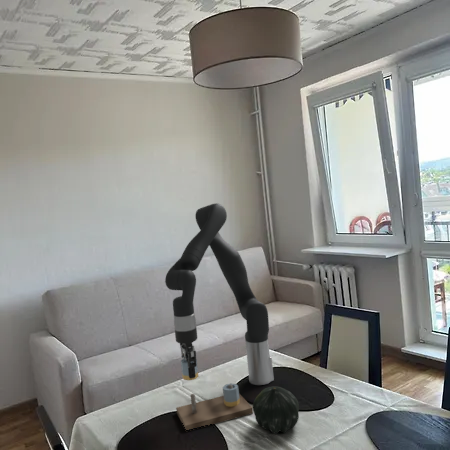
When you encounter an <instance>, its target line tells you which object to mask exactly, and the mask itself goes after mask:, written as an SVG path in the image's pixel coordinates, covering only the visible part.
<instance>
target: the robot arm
mask: <svg viewBox="0 0 450 450" xmlns="http://www.w3.org/2000/svg"><path fill="white" fill-rule="evenodd" d="M194 216H195V221H196V223H197V226H198V228H199V232H197V233H196V235H194V237H193V238H192V239H191V240H190V241H189V242H188V244H187V245H186V247H184V248H185V249H184V250H183V253H182V254H181V256H180V258H179V259H178V260H177V261H176V262H175V263H174V264H173V265H172V266H171V267H170V269H169V270H168V271H167V273H166V274H165V279H164V280H165V281H164V283H165V286H166V287H167V289H168V290H171V291H182V293H181V296H177V297H175V298H173V300H172V309H173V326H174V335H175V342H176V343H177V344H179V346H180V347H179V349H180V353H181V354H180V355H181V358H182V360H183V359H184V358H185V361H187V365H188V366H187V367H188V373H189V378H195V377H196V375H195V367H196V365H197V366H198V363H197V364H196V359H197V350H195V345H194V344H193V343H195V342H196V341H197V340H198V331H197V319H196V315H195V307H194V298H195V290H196V285H197V278H196V275H195V273H194V272H193V271H197V269H198V268H199V266H200V264H201V262H202V260H203V258H204V256H205V254H206V251H208V248H209V247H210V249H211V252H212V253H213V255H214V256H215V259H216V262H217V264H218V266H219V268H220V270H221V272H222V274H223V276H224V278H225V280H226V282H227V284H228V286H229V287H230V289H231V292H232V293H233V296H234V298H235V300H236V304H237V306H238V310H239V312H240V315H241V316H242V318H243V319H244V321H246V332H245V333H244V338H245V339H244V341H245V350H246V351H245V352H246V360H247V372H248V380H249V383H250V384H251V385H255V386H262V385H268V384H269V383H271V382H273V381H275V380H274V379H275V377H274V368H273V367H274V366H273V359H272V358H273V357H271V356H270V345H269V333H270V331H269V330H270V321H269V313H268V312H269V311H268V308H267V306H266V305H265V303H263V302H261V301H259V300H258V299H257V298H256V296H255V295H254V292H253V291H252V289H251V287H250V284H249V279H248V277H249V276H248V272H247V268H246V265H245V263H244V261H243V259H242V257H241V254H240V253H239V252H238V251H237V249H235V247H234V246H232V245H231V244H230V243H228V242H227V241H226V240H225V239H224V238H223V237H222V236H221V234H220V232H219V231H220V230H221V229H222V228H223V227H224V225H225V223H226V221H227V217H228V215H227V211H226V208H225V207H224V205H223V204H220V203H218V202H217V203H212V204H209V205H206V206H203V207H200V208H198V209H197V210H196V212H195V215H194ZM191 362H193V363H192V364H191Z"/></svg>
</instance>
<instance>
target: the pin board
mask: <svg viewBox="0 0 450 450" xmlns="http://www.w3.org/2000/svg"><path fill="white" fill-rule="evenodd" d="M229 384H230V383H229ZM232 388H233V386H232V385H231V384H230V385H229V386H228V389H232ZM239 398H240V403H239V404H238V405H236V406H233V407H230V406H226V405H225V404H224V396H223V395H221V396H217V397H213V398H209V399H205V400H201V401H196V395H195V393H191V394H190V402H191V403H189V404H185V405H181V406H177V407H176V408H175V410H176V415H177V416H178V418H179V420H180V423H181V424H182V423H183V424H182V426H183V425H184V426H183V428H184V427H185V428H184V429H186V430H189V429H193V428H197V427H201V426H204V427H206V426H205V425H208V426H211V425H210V424H212V425H214V424H215V425H216V424H218V423H222V422H226V421H230V420H234V419H237V418H241V417H245V416H249V415H250V414H254V412H253V406H251V405H250V403H249V402H248V401H247V400H246V399H245V397H244V396H242V395H241V393H240V392H239ZM201 428H202V427H201ZM197 429H198V428H197ZM186 430H185V431H186ZM193 430H194V429H193Z"/></svg>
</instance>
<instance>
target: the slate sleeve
mask: <svg viewBox="0 0 450 450" xmlns="http://www.w3.org/2000/svg"><path fill="white" fill-rule="evenodd" d="M192 363H193V362H191V364H192ZM196 364H197V365H196V367H195V375H196V377H195V378H189V373H188V367H187V366H188V365H187V361H185V358H184V359H183V358H182V359H181V360H180V367H181V377H182V379H183V380H184V381H193V380H196V379H197V378H198V377H199V370H198V369H199V368H198V359H197V358H196Z"/></svg>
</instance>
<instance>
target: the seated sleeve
mask: <svg viewBox="0 0 450 450" xmlns="http://www.w3.org/2000/svg"><path fill="white" fill-rule="evenodd" d="M230 384H231V385H232V386H233V388H232V389H228V386H229V385H230ZM239 389H240V388H239V385H238V384H236V383H227V384H225V385H224V386H222V394H223V395H222V396H224V404H225V405H226V406H230V407H233V406H236V405H238V404H239V403H240V398H239V393H240V390H239Z"/></svg>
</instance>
